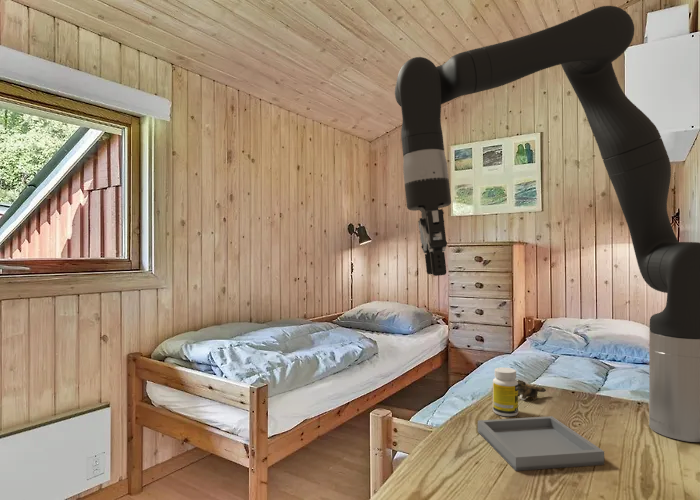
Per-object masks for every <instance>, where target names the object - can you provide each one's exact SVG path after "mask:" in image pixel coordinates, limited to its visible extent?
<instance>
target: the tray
mask: <svg viewBox="0 0 700 500" xmlns="http://www.w3.org/2000/svg"><path fill="white" fill-rule="evenodd" d="M477 432H478V434H479V435H480V436H481V437H482V438H483V439H484V440H485V442H487V444H489V445H490V446H491V448H493V449H494V450H495V452H497V453H498V454H499V455H500V457H501V458H502V459H504V460H505V462H507V464H508V465H510V467H511V468H512V469H513V470H514V471H515V472H520V471H521V472H522V471H533V470H548V469H550V470H551V469H563V468H576V467H590V466H602V465H603V466H604V465H605V451H604V450H603V449H602V448H600V447H599V446H597V445H596V444H594V443H593V442H591V441H589V440H588V439H587V438H585V437H584V436H582V435H581V434H579V433H578V432H576V431H574V430H573V429H572V428H570V427H568V426H567V425H566V424H564V423H563V422H561V421H560V420H558V419H557V418H555V417H554V416H553V415H549V416H536V417H535V416H533V417H532V416H530V417H517V418H516V417H514V418H513V417H512V418H499V419H498V418H497V419H479V420H477Z"/></svg>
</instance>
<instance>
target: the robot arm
mask: <svg viewBox="0 0 700 500" xmlns="http://www.w3.org/2000/svg"><path fill="white" fill-rule="evenodd" d="M634 36H635V24H634V21H633V19H632V17H631V15H630V14H629V13H628V12H627V11H626V10H624V9H623V8H621V7H619V6H614V5H602V6H598V7H596V8H593V9H591V10H587V12H584V13H581V14H580V15H576V16H575V17H572V18H570V19H568V20H566V21H564V22H561V23H558V24H555V25H553V26H550V27H548V28H544V29H542V30H539V31H536V32H532V33H529V34H527V35H522V36H520V37H516V38H513V39H510V40H507V41H501V42H497V43H494V44H490V45H486V46H481V47H478V48H474V49H473V48H472V49H469V50H466V51H463V52H462V51H461V52H459V53H456V54H454V55H453V56H451V57H450V58H449V59H448V60H447V61H446V62H445V63H442V64H441V65H438V66H436V65H435V64H434V63H433V62H432V61H431V60H430V59H428V58H426V57H424V56H415V57H412V58H410V59H408V60H407V61H406V62H405V63H404V64H403V65H402V66H401V68H400V70H399V71H398V74H397V78H396V84H395V87H394V88H395V89H394V96H395V97H394V98H395V101H396V103H397V104H398V105H399V107H400V108H401V117H402V125H401V131H400V133H401V134H400V136H401V139H400V140H401V146H402V157H403V158H402V160H403V162H402V163H403V164H402V170H403V171H402V172H403V182H404V192H405V200H406V202H405V203H406V209H407V210H409V211H413V212H414V211H415V212H416V211H420V212H421V217H419V220H418V221H417V224H418V230H419V241H420V243H421V246H420V247H421V249H422V252H423V254H424V259H425V268H426V270H425V271H426V274H428V275H433V276H435V277H438V276H445V275H446V274H447V265H446V255H445V254H446V253H445V252H446V249H447V245H448V241H447V237H446V235H447V234H446V227H445V219H444V213H445V212H444V211H443V209H442V208H446V207H449V206H451V204H452V197H451V188H450V177H449V169H448V162H447V159H446V158H447V157H446V153H445V144H444V136H443V130H442V129H443V128H442V122H441V121H442V119H441V118H442V117H441V115H442V105H444V104H445V103H448V102H450V101H452V100H455V99H457V98H459V97H463V96H467V95H472V94H477V93H480V92H484V91H488V90H492V89H496V88H498V87H502V86H505V85H508V84H510V83H512V82H513V83H514V82H515V81H518V80H520V79H522V78H524V77H527V76H530V75H532V74H535V73H538V72H541V71H544V70H546V69H548V68H549V69H550V68H552V67H556V66H559V65H561V67H562V70H563V72H564V74H565V76H566V77H567V79H568V82H569V84H570V85H571V87H572V89H573V91H574V93H575V95H576V96H577V98H578V100H579V103H580V104H581V107H582V109H583V111H584V113H585V116H586V118H587V121H588V124H589V127H590V130H591V132H592V134H593V137H594V140H595V142H596V144H597V148H598V150H599V154H600V156H601V158H602V162H603V164H604V167H605V170H606V172H607V175H608V177H609V180H610V181H611V184H612V186H613V187H612V188H613V189H614V192H615V194H616V197H617V199H618V203H619V205H620V208H621V210H622V213H623V215H624V219H625V222H626V224H627V227H628V231H629V234H630V238H631V242H632V246H633V251H634V255H635V259H636V262H637V265H638V269H639V273H640V275H641V277H642V279H643V281H644V282H645V283H646V284H647V285H648V286H649V287H650V288H651V289H653V290H655V291H657V292H661V293H664V294H666V303H665V307H664V309H663V310H662V311H660V312H658V313H657V312H656V313H654V314H652V315H651V316H650V318H649V338H648V339H649V346H648V347H649V359H648V360H649V365H648V367H649V369H648V371H649V375H648V377H649V387H648V388H649V389H648V391H649V392H648V393H649V394H648V395H649V397H648V399H649V400H648V402H649V404H648V405H649V406H648V418H649V419H648V421H649V422H648V423H649V425H648V426H649V428H650V429H651V430H652V431H654V432H656V433H657V434H660V435H662V436H663V437H667V438H671V439H675V440H678V441H683V442H689V443H690V442H691V443H700V242H697V241H695V242H694V241H679V239H678V237H677V236H676V234H675V232H674V231H675V230H674V229H673V226H672V223H671V221H670V218H669V213H668V196H669V191H670V184H671V177H672V166H671V161H670V157H669V154H668V151H667V150H666V146H665V144H664V141H663V138H662V136H661V133H660V131H659V130H658V128H657V126H656V125H655V123H654V122H653V121H652V120H651V119H650V118H649V117H648V116H647V115H646V113H644V112H643V111H642V110H641V109H640V108H639V107H637V105H636V104H635V103H633V102H632V101H631V100H630V99H629V98H628V96H627V95H626V94H625V92H624V91H623V90H622V87H621V85H620V83H619V80H618V78H617V75H616V73H615V69H614V66H613V62H615V61H616V60H617V59H618V58H620V56H622V55H623V54H624V53H625V52H626V50H628V49H629V47H630V45H631V43H632V41H633V39H634Z"/></svg>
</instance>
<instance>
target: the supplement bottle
mask: <svg viewBox="0 0 700 500" xmlns="http://www.w3.org/2000/svg"><path fill="white" fill-rule="evenodd" d="M517 381H518V379H517V370H516V369H514V368H511V367H496V368H494V378H493V379H492V411H493V413H495V414H496V415H497V416H501V417H515V416H517V415H518V413H519V396H518V382H517Z"/></svg>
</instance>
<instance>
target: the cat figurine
mask: <svg viewBox="0 0 700 500" xmlns="http://www.w3.org/2000/svg"><path fill="white" fill-rule="evenodd" d="M517 382H518V397H519V399H520V400H521V401H525V400H527V398H531V399H532V400H533V401H535V400H537V398H538V394H539V393H544V392H546V391H547V390H546V388H545V387H541V386H535V385H531V384H527V383H526V382H525V381H524V380H521V379H517Z"/></svg>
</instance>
